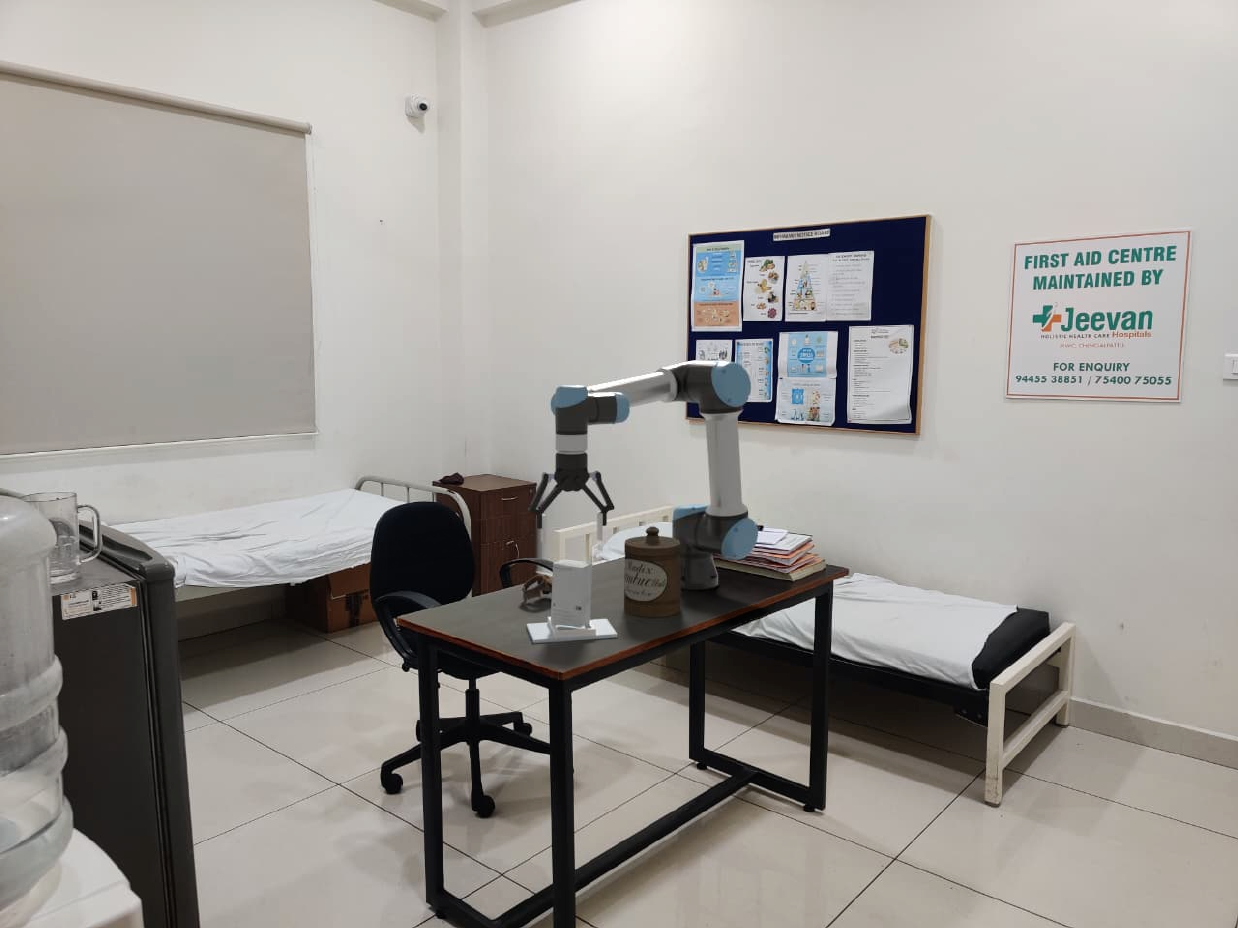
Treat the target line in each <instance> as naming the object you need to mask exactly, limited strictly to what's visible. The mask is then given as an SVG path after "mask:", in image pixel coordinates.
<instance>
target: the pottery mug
mask: <svg viewBox="0 0 1238 928" xmlns="http://www.w3.org/2000/svg"><path fill="white" fill-rule="evenodd" d="M535 583H537V585H536V586H535V587H532V588H530V587H531V586H532V585H534V584H535ZM529 588H530V589H529ZM521 591H522V592H523V593H522V597H523V598H522V599H523V600H524V602H527V601H528V600H531V599H534V598H535V599H536V598H542V595H549V594H551V595H552V579H551V578H550V576H549V575H547V574H537V575H535V576H533V577H531V578H529V579H528V580H527V581H526V582H524V584H523V587H522V588H521ZM541 593H542V595H541Z"/></svg>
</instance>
